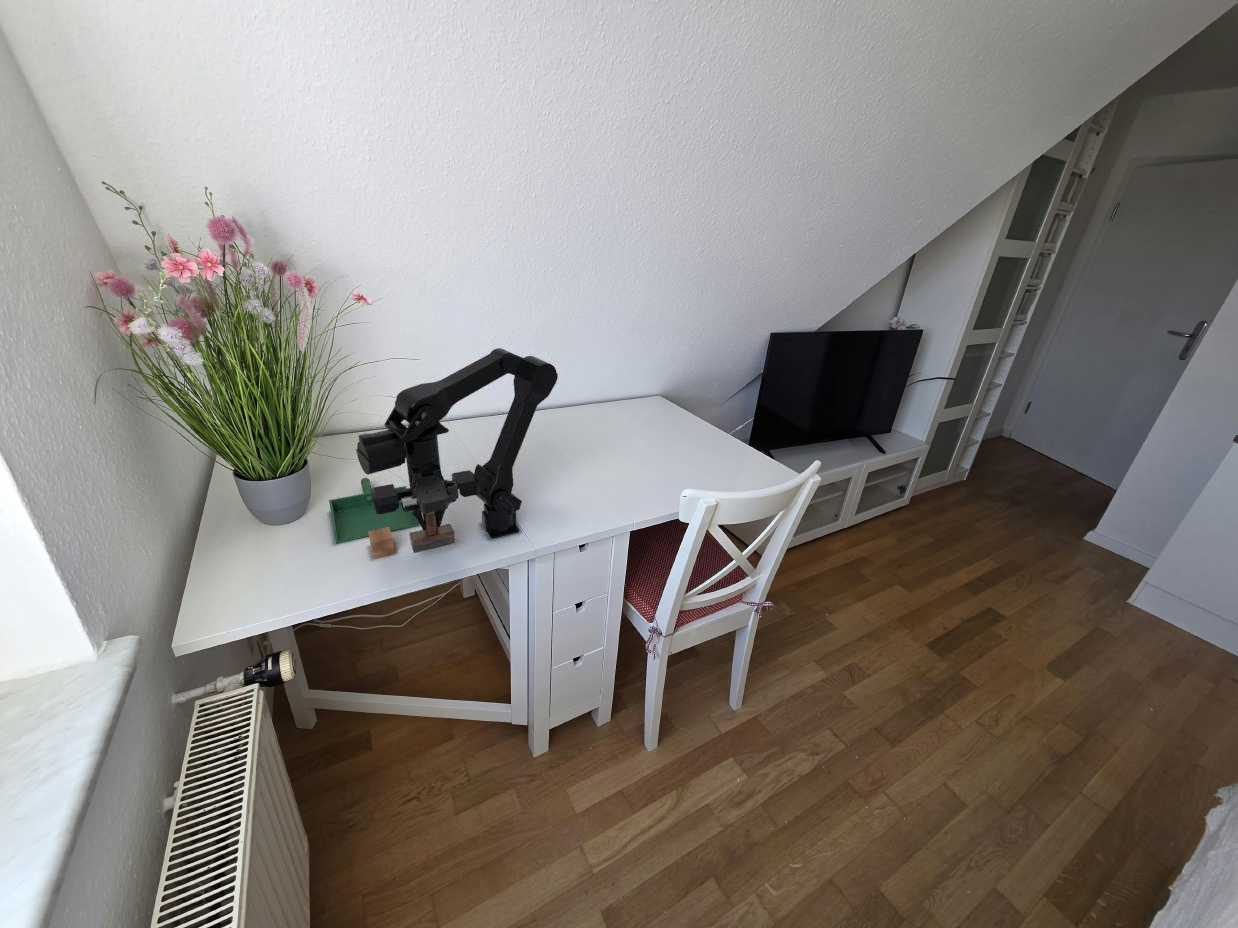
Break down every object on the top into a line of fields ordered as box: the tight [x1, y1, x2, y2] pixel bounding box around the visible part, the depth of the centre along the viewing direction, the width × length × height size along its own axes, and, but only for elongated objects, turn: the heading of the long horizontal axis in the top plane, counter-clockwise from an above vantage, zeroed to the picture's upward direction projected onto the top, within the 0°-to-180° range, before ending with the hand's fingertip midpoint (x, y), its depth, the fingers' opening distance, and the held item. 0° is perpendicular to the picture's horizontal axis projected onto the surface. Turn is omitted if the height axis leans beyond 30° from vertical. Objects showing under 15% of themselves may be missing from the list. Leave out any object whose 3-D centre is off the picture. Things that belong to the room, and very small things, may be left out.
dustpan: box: [328, 477, 419, 544], centre depth 116 cm, size 22×16×3 cm
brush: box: [408, 511, 456, 554], centre depth 101 cm, size 8×3×8 cm, turn 120°
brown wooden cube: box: [368, 527, 396, 559], centre depth 103 cm, size 4×4×4 cm
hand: (431, 527), depth 101 cm, fingers closed on brush, 2 cm apart
